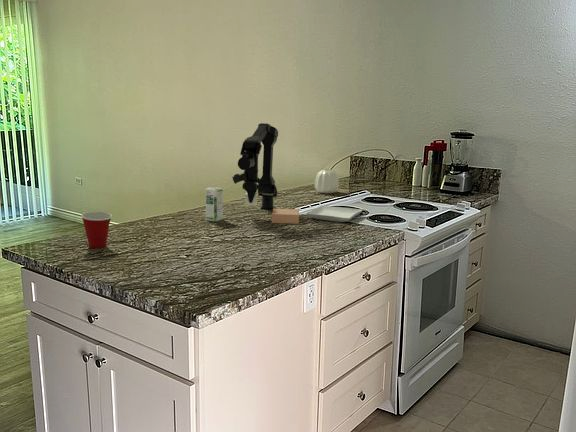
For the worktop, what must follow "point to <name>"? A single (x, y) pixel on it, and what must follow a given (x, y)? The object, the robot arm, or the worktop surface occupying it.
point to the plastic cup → (96, 228)
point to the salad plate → (333, 213)
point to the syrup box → (214, 204)
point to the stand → (285, 216)
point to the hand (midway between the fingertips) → (251, 201)
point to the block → (252, 201)
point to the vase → (326, 181)
